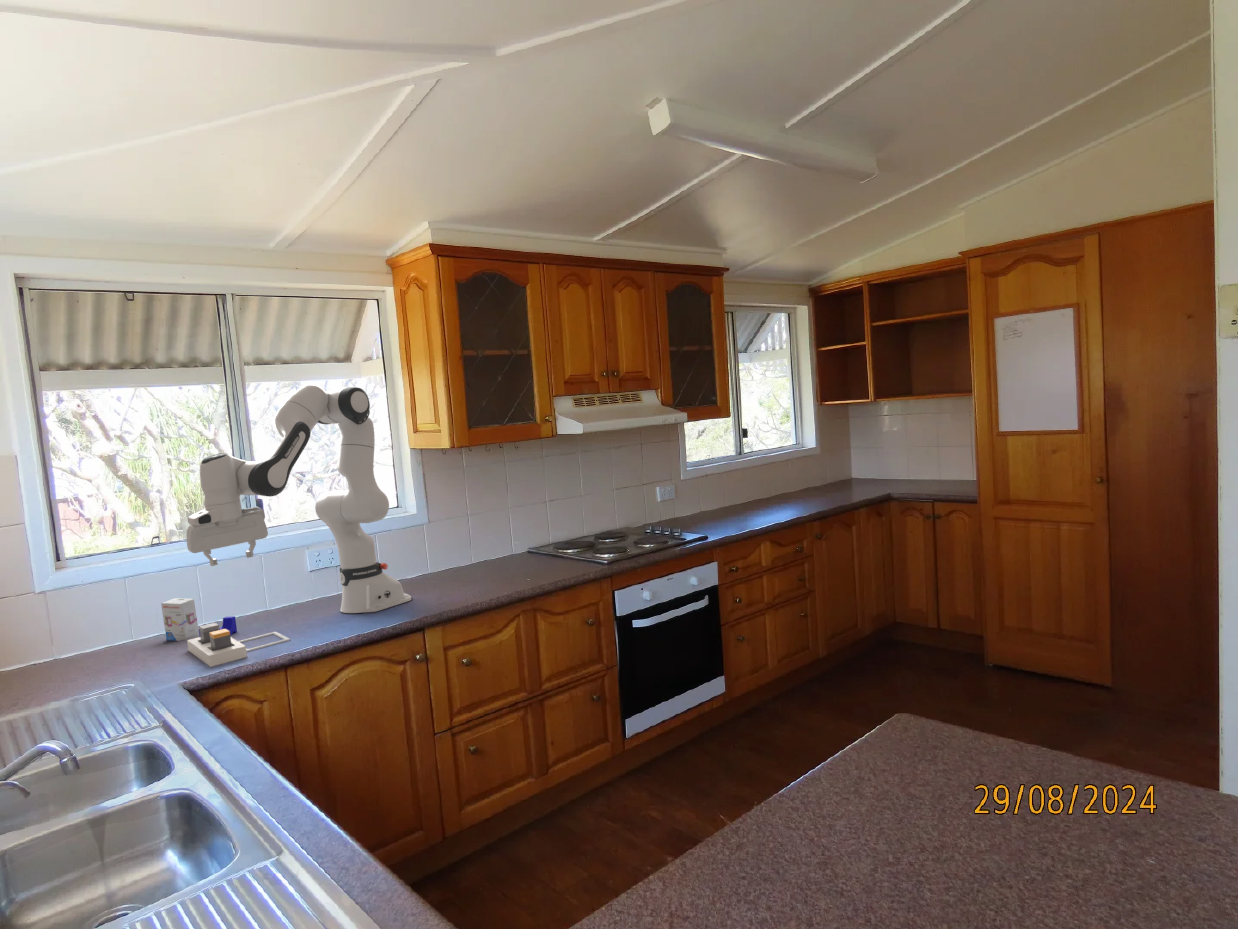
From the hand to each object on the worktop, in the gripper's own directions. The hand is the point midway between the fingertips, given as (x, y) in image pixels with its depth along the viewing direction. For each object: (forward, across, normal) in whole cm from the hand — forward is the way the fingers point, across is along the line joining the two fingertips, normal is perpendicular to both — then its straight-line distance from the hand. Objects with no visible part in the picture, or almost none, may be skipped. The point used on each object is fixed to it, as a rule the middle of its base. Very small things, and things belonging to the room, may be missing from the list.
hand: (232, 561), depth 214 cm
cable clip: (+26, +4, -14) cm, 30 cm away
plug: (+24, +8, +7) cm, 26 cm away
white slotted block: (+25, +8, +2) cm, 26 cm away
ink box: (+26, +9, -29) cm, 40 cm away
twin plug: (+24, +8, -3) cm, 25 cm away
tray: (+25, -3, +2) cm, 26 cm away
